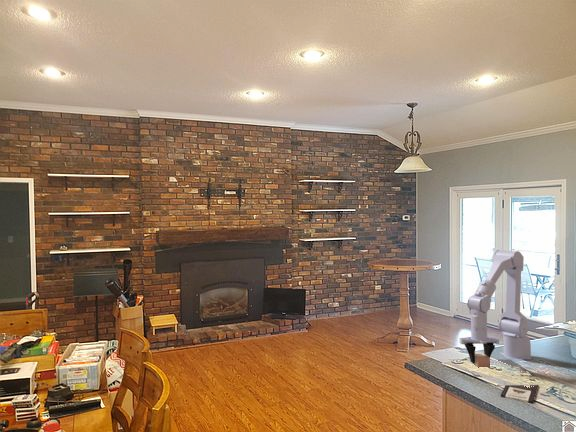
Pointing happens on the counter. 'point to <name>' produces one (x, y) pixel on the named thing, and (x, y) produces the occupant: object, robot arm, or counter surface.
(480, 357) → the card box
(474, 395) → the counter surface
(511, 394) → the chocolate bar
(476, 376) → the mat
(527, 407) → the counter surface
